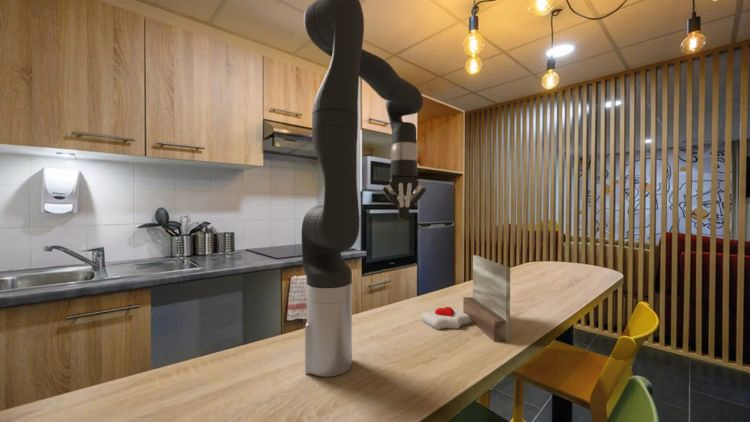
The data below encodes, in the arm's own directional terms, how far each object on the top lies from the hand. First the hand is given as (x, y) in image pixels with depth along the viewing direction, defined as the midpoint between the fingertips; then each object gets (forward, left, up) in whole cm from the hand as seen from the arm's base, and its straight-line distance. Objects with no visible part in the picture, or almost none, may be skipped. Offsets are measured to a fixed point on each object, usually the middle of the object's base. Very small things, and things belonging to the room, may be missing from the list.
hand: (403, 220), depth 90 cm
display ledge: (+21, -6, -29) cm, 36 cm away
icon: (+12, -3, -30) cm, 32 cm away
